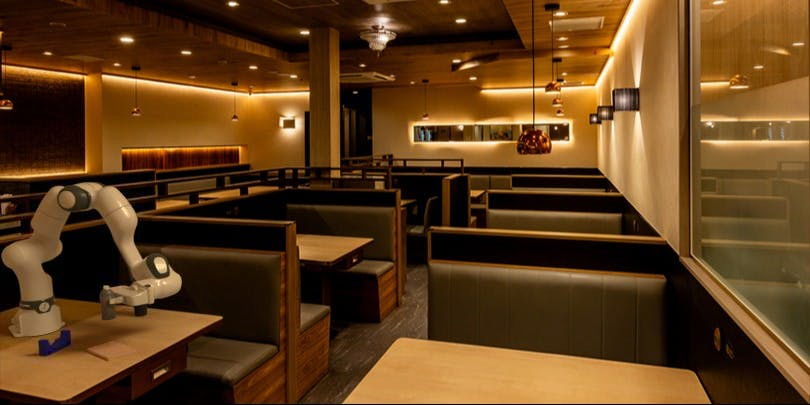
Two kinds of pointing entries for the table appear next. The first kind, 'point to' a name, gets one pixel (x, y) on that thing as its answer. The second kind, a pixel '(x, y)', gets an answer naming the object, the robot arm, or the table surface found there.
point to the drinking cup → (140, 310)
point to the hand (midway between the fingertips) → (104, 300)
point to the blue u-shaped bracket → (54, 343)
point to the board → (111, 350)
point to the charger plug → (107, 304)
